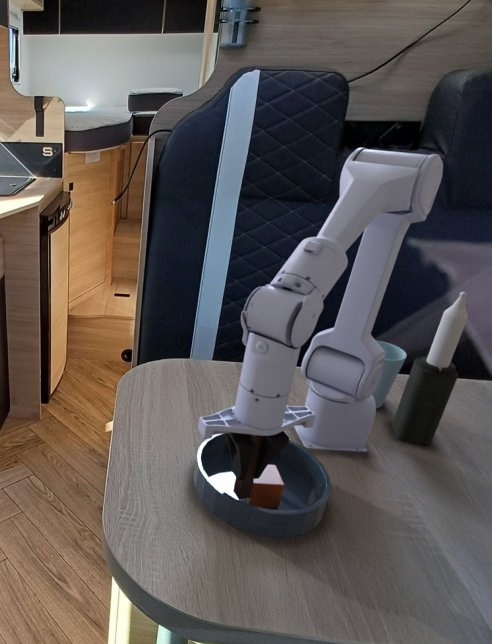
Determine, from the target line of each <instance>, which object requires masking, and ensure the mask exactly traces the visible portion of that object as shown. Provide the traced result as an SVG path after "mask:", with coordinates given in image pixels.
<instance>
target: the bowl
mask: <svg viewBox="0 0 492 644" xmlns="http://www.w3.org/2000/svg"><path fill="white" fill-rule="evenodd" d="M268 465H276V467H277V469H278V472H279V474H280V476H281V479H282V481H283V483H284V489H283V493H282V496H281V500H280V504H279V508H269V507H255V506H251V505H249V504H247V501H246V498H244V499H238V497H237V496H236V494H235V493H234V491H233V489H234V484H235V479H236V476H235V475H234V473H233V472H232V462H231V454H230V449H229V445H228V442H227V439H226V436H225V434H215V435H212V438H210V439H204V440H203V441H202V442H201V444H200V445H199V447H198V448H197V452H196V458H195V464H194V470H193V477H192V480H193V481H192V482H193V487H194V491H195V493H196V495H197V497H198V498H199V500H200V502H201V503H202V504H203V505H204V506H205V508H206V509H207V510H208V511H210V512H211V513H212V514H213V515H214V516H216V517H217V518H218V519H219V520H221V521H222V522H224V523H226V524H227V525H229V526H232V527H233V528H235V529H237V530H240V531H242V532H245V533H249V534H251V535H255V536H260V537H265V538H272V539H273V538H274V539H286V538H294V537H298V536H302V535H304V534H307V533H309V532H310V531H312V530H314V529H315V528H316V527H317V526H318V524H320V523H321V521H322V520H323V516H324V514H325V510H326V506H327V504H328V500H329V497H330V494H331V491H332V483H331V478H330V475H329V473H328V471H327V470H326V468H325V465H324V464H323V463H322V462H321V461H320V460H319V459H318V458H317V457H316V456H315V455H314V454H313V453H312V452H310V451H309V450H308V449H307V448H305V447H303V446H302V445H300V444H298V443H297V442H294V441H292V440H290V439H289V442H288V446H286V447H285V448H283V449H282V450H280V451H279V452H278V453H277V454H276V455H275V456H274V457H273V458H272V460H271V461H270V462H269V464H268Z"/></svg>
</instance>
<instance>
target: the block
mask: <svg viewBox="0 0 492 644" xmlns="http://www.w3.org/2000/svg"><path fill="white" fill-rule="evenodd" d="M283 489H284V483H283V481H282V479H281V476H280V474H279V472H278V469H277V467H276V465H267V466H266V468H265V470H264V471H263V473H262V474H261V476H260V477H259V478H258V479H254V480H253V485H252V489H251V494H250V498H246V501H247V504H249V505H251V506H255V507H269V508H279V504H280V500H281V496H282V493H283Z"/></svg>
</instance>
